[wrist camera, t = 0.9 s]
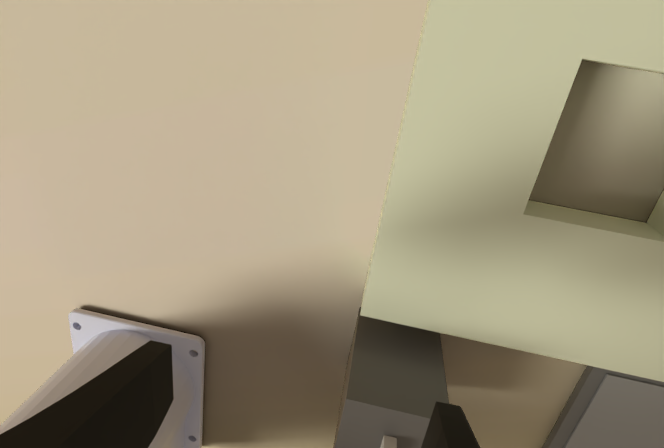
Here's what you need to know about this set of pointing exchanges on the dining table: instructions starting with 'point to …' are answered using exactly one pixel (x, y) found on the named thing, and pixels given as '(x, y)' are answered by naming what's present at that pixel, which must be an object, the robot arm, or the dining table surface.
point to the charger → (390, 386)
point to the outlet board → (516, 190)
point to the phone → (611, 413)
